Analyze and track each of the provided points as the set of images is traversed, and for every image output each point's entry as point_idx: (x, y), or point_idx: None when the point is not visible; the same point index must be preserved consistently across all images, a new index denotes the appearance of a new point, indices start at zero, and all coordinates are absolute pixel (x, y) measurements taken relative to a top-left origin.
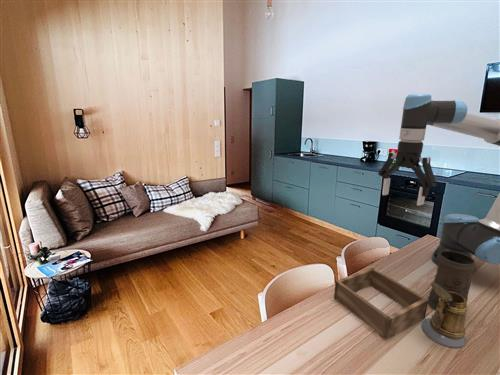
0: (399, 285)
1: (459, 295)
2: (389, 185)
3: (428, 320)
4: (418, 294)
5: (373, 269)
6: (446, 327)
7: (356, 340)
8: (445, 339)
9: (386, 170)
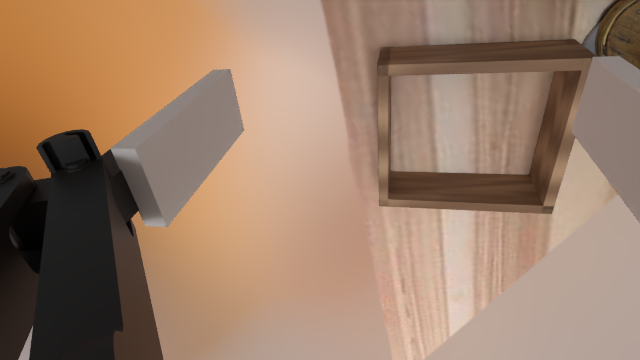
0: (494, 72)
1: None
2: (188, 108)
3: (590, 50)
4: (562, 61)
5: (387, 71)
6: None
7: (497, 224)
8: None
9: (7, 236)
